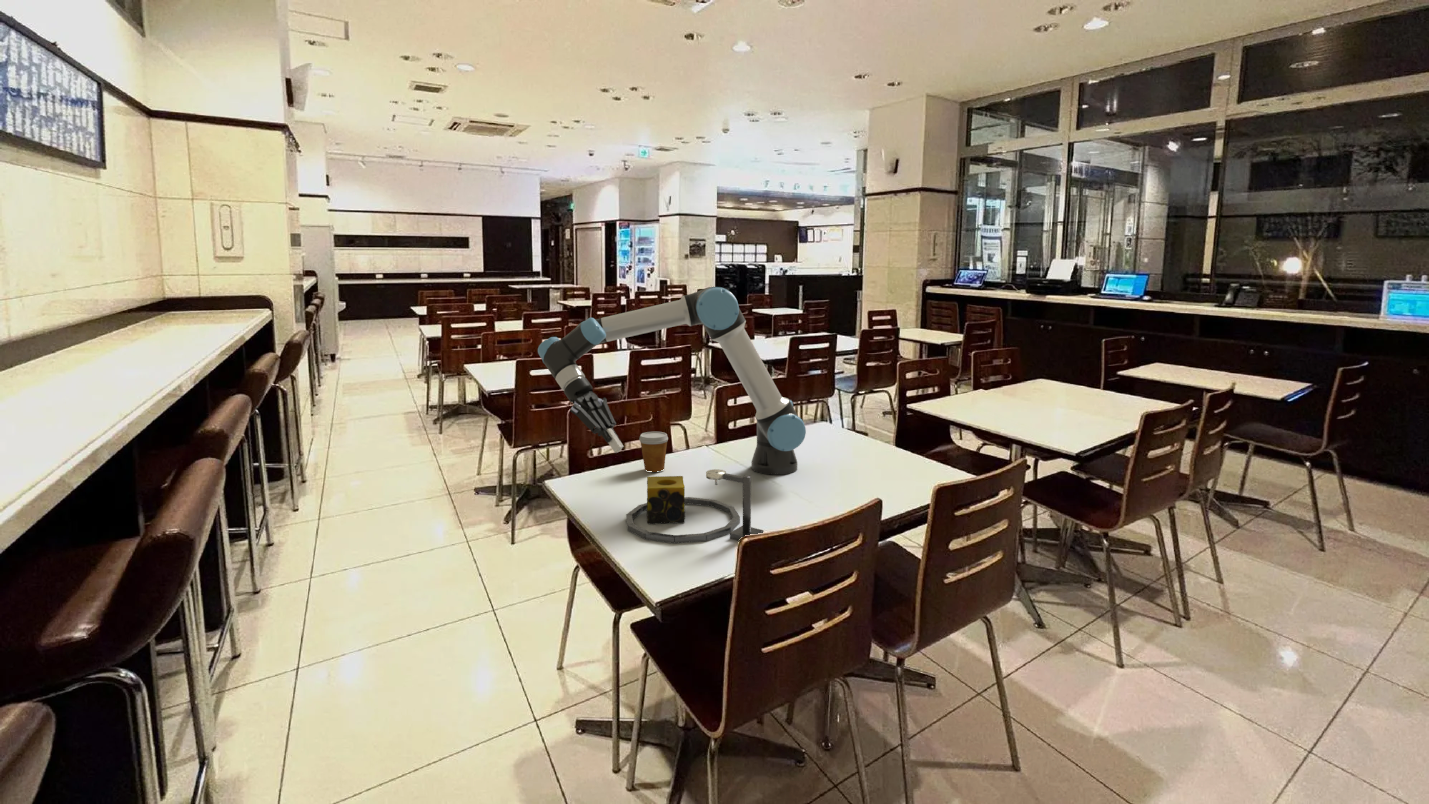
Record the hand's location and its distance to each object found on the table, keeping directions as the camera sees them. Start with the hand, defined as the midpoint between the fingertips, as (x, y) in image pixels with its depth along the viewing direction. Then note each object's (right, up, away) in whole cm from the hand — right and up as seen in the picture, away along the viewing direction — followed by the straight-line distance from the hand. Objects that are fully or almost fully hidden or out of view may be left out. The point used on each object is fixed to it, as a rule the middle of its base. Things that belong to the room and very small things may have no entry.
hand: (619, 449), depth 190 cm
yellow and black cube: (+13, -18, -7) cm, 23 cm away
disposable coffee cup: (+7, -9, +36) cm, 38 cm away
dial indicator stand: (+31, -20, -19) cm, 41 cm away
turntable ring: (+18, -18, -10) cm, 27 cm away
